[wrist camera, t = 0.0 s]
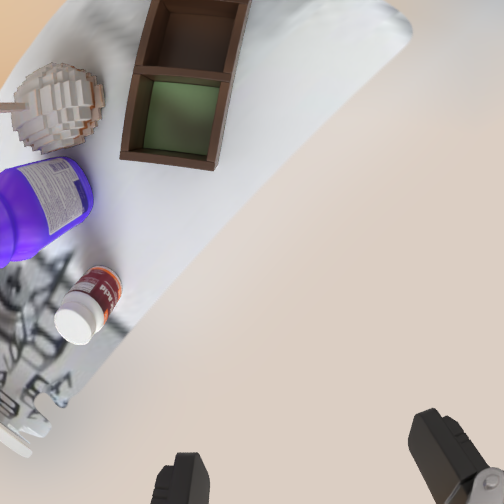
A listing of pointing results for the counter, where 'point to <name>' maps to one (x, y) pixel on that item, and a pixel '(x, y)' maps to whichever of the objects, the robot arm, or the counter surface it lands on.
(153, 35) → the organiser
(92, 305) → the pill bottle
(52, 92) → the decorative ornament
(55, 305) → the counter surface
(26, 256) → the bottle
